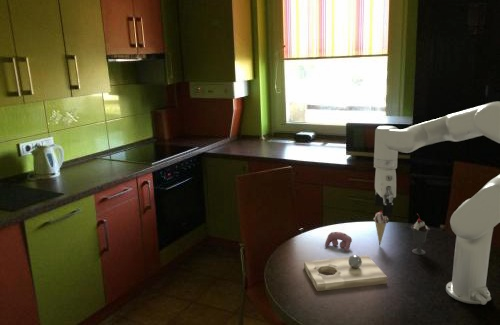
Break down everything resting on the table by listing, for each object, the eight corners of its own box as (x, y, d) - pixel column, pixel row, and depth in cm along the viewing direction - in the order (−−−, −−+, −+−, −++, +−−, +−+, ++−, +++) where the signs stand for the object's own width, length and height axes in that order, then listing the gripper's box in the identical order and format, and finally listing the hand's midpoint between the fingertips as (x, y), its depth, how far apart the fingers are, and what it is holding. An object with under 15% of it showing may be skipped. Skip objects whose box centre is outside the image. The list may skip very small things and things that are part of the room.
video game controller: (350, 252, 173) (354, 235, 174) (347, 252, 169) (350, 234, 170) (327, 247, 178) (330, 230, 179) (323, 246, 174) (326, 229, 175)
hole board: (386, 283, 147) (386, 276, 146) (317, 291, 144) (317, 284, 143) (367, 261, 162) (367, 255, 162) (304, 267, 159) (304, 261, 158)
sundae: (412, 246, 173) (415, 210, 169) (430, 251, 169) (433, 214, 165) (406, 252, 168) (408, 216, 164) (424, 257, 164) (427, 220, 160)
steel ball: (363, 270, 151) (364, 258, 150) (351, 271, 151) (351, 259, 149) (358, 263, 156) (358, 252, 154) (346, 265, 155) (346, 253, 154)
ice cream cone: (389, 245, 174) (391, 210, 171) (383, 250, 170) (384, 214, 167) (376, 241, 178) (378, 207, 175) (369, 246, 174) (371, 211, 170)
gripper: (405, 169, 139) (402, 219, 144) (389, 156, 156) (386, 201, 161) (381, 170, 140) (378, 220, 144) (368, 156, 156) (366, 202, 161)
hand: (383, 210), depth 152 cm, fingers open, 9 cm apart
